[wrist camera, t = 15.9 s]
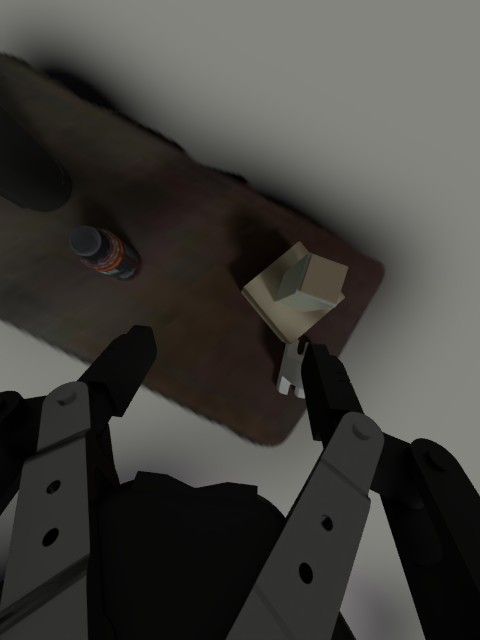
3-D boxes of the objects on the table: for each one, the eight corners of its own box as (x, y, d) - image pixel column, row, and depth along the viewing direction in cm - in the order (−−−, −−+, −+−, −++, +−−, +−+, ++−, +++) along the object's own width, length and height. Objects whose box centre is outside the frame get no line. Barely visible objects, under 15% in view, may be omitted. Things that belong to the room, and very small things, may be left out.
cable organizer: (275, 389, 40) (292, 410, 30) (287, 337, 40) (308, 341, 30) (302, 395, 40) (328, 418, 30) (313, 344, 40) (343, 349, 30)
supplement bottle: (124, 242, 38) (82, 207, 27) (150, 263, 38) (119, 237, 27) (101, 267, 38) (49, 242, 27) (128, 288, 38) (88, 272, 27)
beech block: (281, 341, 40) (291, 344, 34) (240, 292, 40) (243, 286, 34) (327, 301, 41) (345, 297, 35) (288, 253, 41) (299, 241, 35)
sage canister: (303, 312, 35) (338, 306, 24) (274, 302, 34) (297, 292, 24) (312, 283, 35) (351, 265, 24) (284, 273, 34) (310, 250, 24)
